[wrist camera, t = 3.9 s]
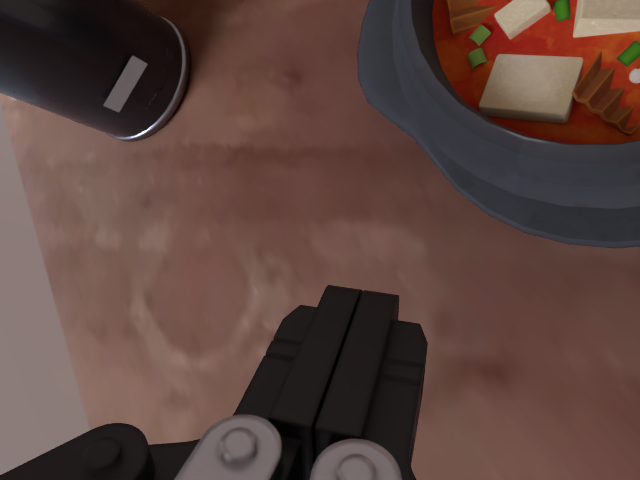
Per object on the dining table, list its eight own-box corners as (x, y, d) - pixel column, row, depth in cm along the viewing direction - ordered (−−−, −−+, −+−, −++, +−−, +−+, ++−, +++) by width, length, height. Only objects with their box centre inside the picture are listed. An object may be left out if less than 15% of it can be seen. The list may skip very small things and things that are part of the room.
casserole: (1135, -139, 18) (1497, -462, 10) (874, 368, 19) (1031, 395, 12) (451, -147, 30) (398, -297, 23) (322, 159, 31) (233, 110, 24)
